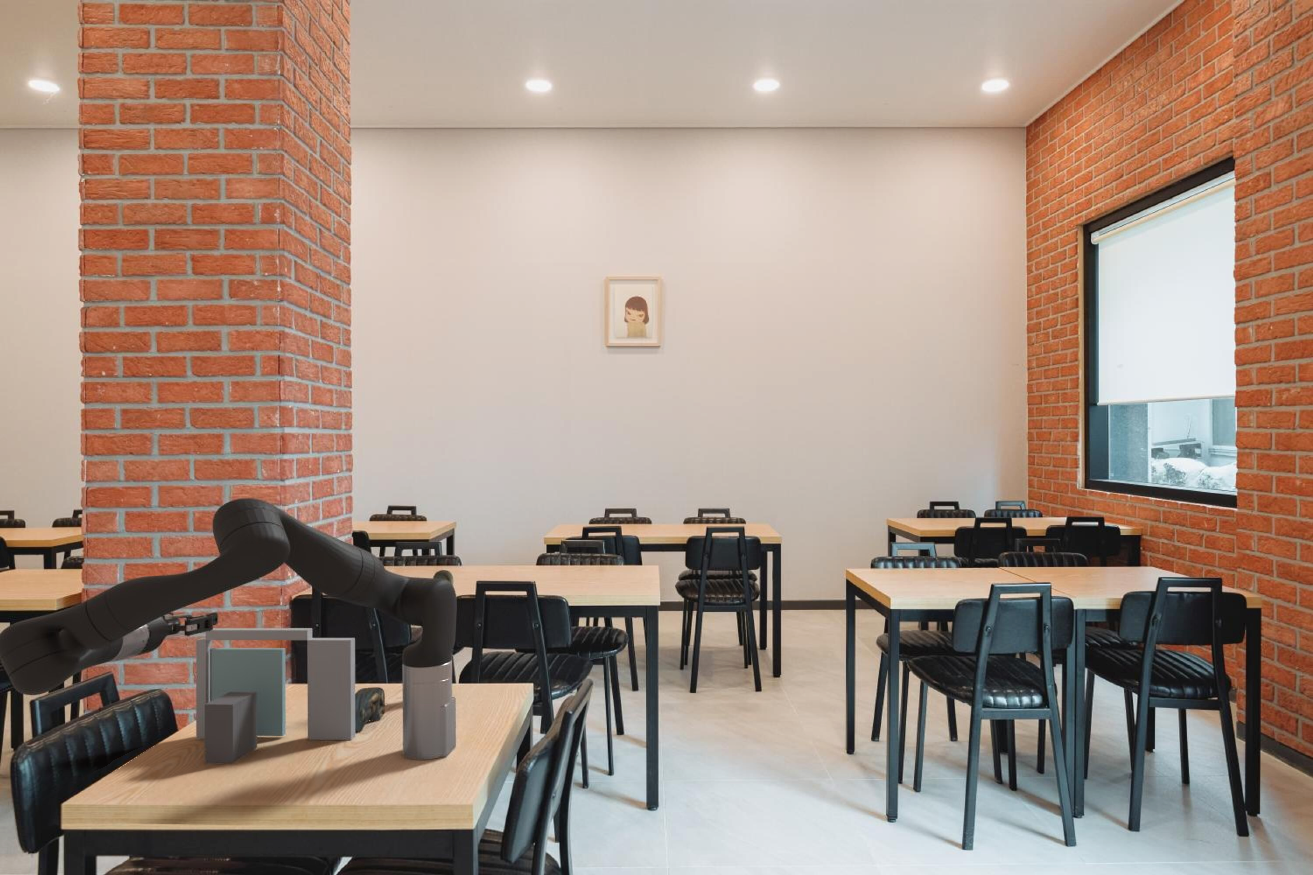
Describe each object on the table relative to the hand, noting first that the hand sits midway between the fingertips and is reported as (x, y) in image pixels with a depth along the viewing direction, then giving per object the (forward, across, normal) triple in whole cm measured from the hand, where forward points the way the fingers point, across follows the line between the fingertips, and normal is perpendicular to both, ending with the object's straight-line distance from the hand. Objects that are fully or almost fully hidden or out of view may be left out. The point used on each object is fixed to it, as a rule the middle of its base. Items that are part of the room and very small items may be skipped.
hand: (193, 618), depth 145 cm
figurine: (+51, +26, -27) cm, 63 cm away
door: (+22, -3, -27) cm, 35 cm away
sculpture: (+32, +16, -28) cm, 45 cm away
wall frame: (+22, +3, -28) cm, 35 cm away
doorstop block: (+12, 0, -28) cm, 30 cm away
